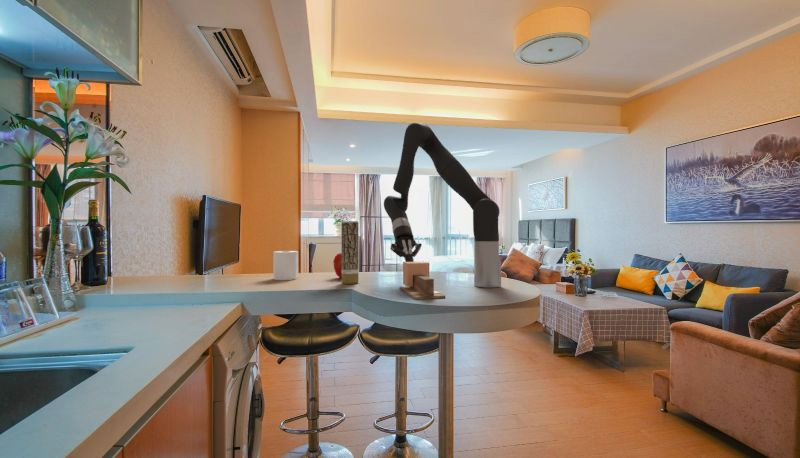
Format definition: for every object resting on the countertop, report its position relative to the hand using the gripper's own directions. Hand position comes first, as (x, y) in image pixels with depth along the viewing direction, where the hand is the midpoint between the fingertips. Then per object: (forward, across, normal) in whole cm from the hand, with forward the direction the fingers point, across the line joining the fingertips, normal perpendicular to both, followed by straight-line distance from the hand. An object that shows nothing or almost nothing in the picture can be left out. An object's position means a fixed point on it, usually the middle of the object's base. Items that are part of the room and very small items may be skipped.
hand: (410, 263), depth 133 cm
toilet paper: (-18, -47, +31) cm, 59 cm away
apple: (-16, -22, +28) cm, 39 cm away
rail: (+15, 0, -3) cm, 15 cm away
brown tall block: (-4, -21, +17) cm, 27 cm away
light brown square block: (+10, 0, 0) cm, 10 cm away
